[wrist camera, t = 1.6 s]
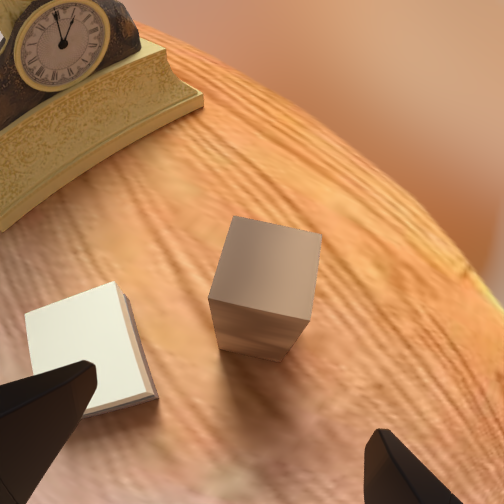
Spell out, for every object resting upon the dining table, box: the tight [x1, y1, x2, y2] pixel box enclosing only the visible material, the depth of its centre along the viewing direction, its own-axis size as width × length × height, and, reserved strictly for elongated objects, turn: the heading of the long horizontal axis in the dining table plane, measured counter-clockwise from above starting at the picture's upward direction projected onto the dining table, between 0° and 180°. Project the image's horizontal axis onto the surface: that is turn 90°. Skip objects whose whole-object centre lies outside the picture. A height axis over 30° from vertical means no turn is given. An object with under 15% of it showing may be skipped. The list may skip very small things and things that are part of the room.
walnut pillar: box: [208, 216, 322, 362], centre depth 19 cm, size 4×4×10 cm
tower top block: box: [25, 281, 154, 415], centre depth 19 cm, size 8×8×2 cm
